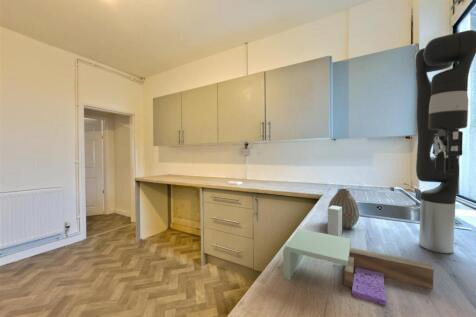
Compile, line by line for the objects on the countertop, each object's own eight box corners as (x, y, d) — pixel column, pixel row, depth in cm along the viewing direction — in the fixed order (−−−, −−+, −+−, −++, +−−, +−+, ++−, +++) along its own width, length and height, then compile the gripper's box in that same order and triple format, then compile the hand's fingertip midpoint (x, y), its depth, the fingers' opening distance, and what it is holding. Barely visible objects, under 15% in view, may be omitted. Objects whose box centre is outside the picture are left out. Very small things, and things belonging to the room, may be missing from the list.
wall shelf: (297, 254, 73) (297, 228, 72) (350, 268, 65) (351, 238, 64) (282, 277, 60) (283, 245, 59) (346, 297, 52) (347, 261, 51)
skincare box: (331, 232, 92) (331, 205, 92) (342, 235, 90) (342, 206, 89) (327, 236, 88) (327, 208, 87) (338, 239, 85) (338, 209, 85)
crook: (346, 262, 68) (347, 246, 68) (429, 281, 58) (429, 263, 58) (344, 285, 56) (344, 267, 56) (446, 314, 46) (447, 292, 46)
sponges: (383, 279, 60) (383, 273, 60) (386, 308, 49) (386, 300, 49) (354, 272, 63) (354, 266, 63) (351, 297, 53) (351, 289, 53)
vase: (330, 230, 95) (331, 191, 94) (325, 220, 108) (326, 186, 107) (363, 233, 92) (364, 192, 91) (354, 223, 105) (355, 187, 104)
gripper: (479, 105, 49) (476, 175, 50) (457, 113, 62) (454, 169, 62) (436, 108, 53) (433, 173, 54) (423, 115, 65) (421, 168, 66)
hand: (444, 171), depth 58 cm, fingers open, 8 cm apart
